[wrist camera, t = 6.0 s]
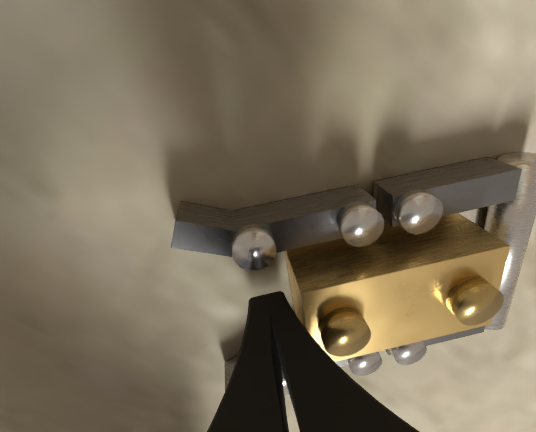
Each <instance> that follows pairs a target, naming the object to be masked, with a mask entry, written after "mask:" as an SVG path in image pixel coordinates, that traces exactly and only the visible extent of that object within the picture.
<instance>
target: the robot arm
mask: <svg viewBox="0 0 536 432" xmlns="http://www.w3.org/2000/svg"><path fill="white" fill-rule="evenodd" d="M281 367H282V370H281ZM282 371H283V374H284V378H285V381H286V384H287V388H288V391H289V394H290V398H291V401H292V404H293V408H294V411H295V414H296V418H297V422H298V426H299V429H300V432H419V431H418V430H416V429H415V428H413V427H412V426H410V425H409V424H408V423H406V422H405V421H404V420H402V419H401V418H399V417H398V416H397V415H395V414H394V413H393V412H392V411H390V410H389V409H388V408H386V407H385V406H384V405H382V404H381V403H380V402H379V401H377V400H376V399H375V398H374V397H373V396H372V395H370V394H369V393H368V392H367V391H366V390H364V389H363V388H362V387H361V386H360V385H359V384H357V383H356V382H355V381H354V380H353V379H352V378H351V377H350V376H349V375H348V374H347V373H345V372H344V371H343V370H342V369H341V368H340V367H339V366H338V365H337V364H336V363H335V362H334V361H333V360H332V359H331V358H330V356H329V355H328V354H327V353H326V352H325V351H324V350H323V349H322V348H321V346H320V345H319V344H318V343H317V342H316V341H315V340H314V338H313V337H312V336H311V335H310V333H309V332H308V331H307V329H306V328H305V327H304V325H303V324H302V323H301V321H300V320H299V319H298V317H297V316H296V314H295V313H294V311H293V310H292V308H291V306H290V305H289V303H288V301H287V299H286V297H285V295H284V293H283V292H281V291H279V292H275V293H270V294H266V295H261V296H257V297H253V298H251V299H250V300H249V307H248V316H247V321H246V327H245V331H244V335H243V339H242V343H241V347H240V351H239V354H238V357H237V360H236V363H235V367H234V370H233V372H232V375H231V378H230V381H229V383H228V386H227V388H226V391H225V394H224V396H223V398H222V401H221V403H220V405H219V407H218V410H217V412H216V414H215V416H214V418H213V421H212V423H211V425H210V427H209V429H208V431H207V432H289V429H288V422H287V415H286V406H285V397H284V388H283V379H282Z"/></svg>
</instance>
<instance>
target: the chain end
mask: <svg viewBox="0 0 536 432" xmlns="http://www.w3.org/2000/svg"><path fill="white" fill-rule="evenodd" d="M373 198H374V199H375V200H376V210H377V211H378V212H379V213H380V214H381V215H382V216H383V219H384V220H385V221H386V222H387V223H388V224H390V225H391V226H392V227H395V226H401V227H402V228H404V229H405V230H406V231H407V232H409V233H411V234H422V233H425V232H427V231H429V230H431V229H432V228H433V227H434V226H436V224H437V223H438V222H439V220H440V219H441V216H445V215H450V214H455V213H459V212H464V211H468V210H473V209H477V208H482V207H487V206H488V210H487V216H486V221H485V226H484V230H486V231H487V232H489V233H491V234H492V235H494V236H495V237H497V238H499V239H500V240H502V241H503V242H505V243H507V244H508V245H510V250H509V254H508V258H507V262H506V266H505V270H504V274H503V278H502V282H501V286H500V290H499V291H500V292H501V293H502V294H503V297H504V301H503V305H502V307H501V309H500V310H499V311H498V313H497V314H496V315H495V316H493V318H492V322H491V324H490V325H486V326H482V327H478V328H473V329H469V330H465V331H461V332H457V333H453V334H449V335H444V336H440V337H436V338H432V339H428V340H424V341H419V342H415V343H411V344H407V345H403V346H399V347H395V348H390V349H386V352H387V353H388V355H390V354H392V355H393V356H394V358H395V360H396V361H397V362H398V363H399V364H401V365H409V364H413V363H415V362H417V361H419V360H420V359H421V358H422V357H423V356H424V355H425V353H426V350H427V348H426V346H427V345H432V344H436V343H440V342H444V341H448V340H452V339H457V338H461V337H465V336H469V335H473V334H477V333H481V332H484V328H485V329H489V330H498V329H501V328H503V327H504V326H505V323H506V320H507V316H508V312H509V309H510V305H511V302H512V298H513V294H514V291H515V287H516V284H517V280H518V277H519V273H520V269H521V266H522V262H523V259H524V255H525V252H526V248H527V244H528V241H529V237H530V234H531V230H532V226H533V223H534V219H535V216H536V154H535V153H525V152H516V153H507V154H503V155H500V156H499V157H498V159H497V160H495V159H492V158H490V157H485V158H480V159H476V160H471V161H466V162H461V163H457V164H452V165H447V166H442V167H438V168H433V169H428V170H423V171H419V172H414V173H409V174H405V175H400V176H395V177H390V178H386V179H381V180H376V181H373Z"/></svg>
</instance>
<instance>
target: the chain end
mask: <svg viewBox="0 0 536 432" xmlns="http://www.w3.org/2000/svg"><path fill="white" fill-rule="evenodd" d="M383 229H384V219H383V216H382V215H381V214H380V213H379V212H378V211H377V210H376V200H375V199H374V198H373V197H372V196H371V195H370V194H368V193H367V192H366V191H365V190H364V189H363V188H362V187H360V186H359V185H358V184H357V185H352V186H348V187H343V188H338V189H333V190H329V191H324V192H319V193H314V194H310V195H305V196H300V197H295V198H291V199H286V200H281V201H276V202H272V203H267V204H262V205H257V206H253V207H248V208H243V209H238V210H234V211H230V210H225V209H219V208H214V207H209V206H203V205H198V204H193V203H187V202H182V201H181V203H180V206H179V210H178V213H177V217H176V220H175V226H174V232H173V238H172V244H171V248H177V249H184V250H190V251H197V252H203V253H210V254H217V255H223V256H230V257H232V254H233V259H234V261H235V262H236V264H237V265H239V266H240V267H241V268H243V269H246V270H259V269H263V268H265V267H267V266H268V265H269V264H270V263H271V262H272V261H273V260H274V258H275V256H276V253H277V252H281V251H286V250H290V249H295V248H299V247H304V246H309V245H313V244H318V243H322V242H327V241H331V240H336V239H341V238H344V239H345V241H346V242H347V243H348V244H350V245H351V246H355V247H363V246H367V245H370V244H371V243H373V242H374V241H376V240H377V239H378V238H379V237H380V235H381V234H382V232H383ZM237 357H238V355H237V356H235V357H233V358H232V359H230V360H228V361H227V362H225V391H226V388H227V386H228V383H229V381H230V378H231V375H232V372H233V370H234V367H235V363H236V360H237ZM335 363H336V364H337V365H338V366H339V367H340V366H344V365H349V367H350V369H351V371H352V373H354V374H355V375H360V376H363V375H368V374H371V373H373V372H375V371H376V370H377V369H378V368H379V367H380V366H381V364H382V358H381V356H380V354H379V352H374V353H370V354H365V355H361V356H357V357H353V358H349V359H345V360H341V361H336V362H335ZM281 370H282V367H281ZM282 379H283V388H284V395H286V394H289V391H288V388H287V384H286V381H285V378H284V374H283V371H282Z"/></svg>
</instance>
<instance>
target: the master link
mask: <svg viewBox="0 0 536 432" xmlns="http://www.w3.org/2000/svg"><path fill="white" fill-rule="evenodd" d="M509 250H510V245H508V244H507V243H505V242H503V241H502V240H500V239H499V238H497V237H495V236H494V235H492V234H491V233H489V232H487V231H486V230H484V229H483V228H481V227H479V226H478V225H476V224H475V223H473V222H471V221H470V220H468V219H467V218H465V217H463V216H462V215H460V214H459V213H455V214H450V215H445V216H441V219H440V220H439V222H438V223H437V224H436V226H434V227H433V228H432V229H431V230H429V231H427V232H425V233H422V234H411V233H409V232H407V231H406V230H405V229H404V228H402V227H401V226H395V227H392V226H391V225H390V224H388V223H387V222H386V221H384V229H383V232H382V234H381V235H380V237H379V238H378V239H377V240H376V241H374V242H373V243H371V244H370V245H367V246H363V247H355V246H351V245H350V244H348V243H347V242H346V241H345V239H344V238H341V239H336V240H331V241H327V242H322V243H318V244H313V245H309V246H304V247H299V248H295V249H290V250H286V251H285V256H286V262H287V268H288V274H289V280H290V285H291V291H292V297H293V303H294V309H295V313H296V316H297V317H298V319H299V320H300V321H301V323H302V324H303V325H304V327H305V328H306V329H307V331H308V332H309V333H310V335H311V336H312V337H313V338H314V340H315V341H316V342H317V343H318V344H319V345H320V346H321V348H322V349H323V350H324V351H325V352H326V353H327V354H328V355H329V356H330V358H331V359H332V360H333V361H334V362H336V361H341V360H345V359H349V358H353V357H357V356H361V355H365V354H370V353H374V352H378V351H382V350H386V349H390V348H395V347H399V346H403V345H407V344H411V343H415V342H419V341H424V340H428V339H432V338H436V337H440V336H444V335H449V334H453V333H457V332H461V331H465V330H469V329H473V328H478V327H482V326H486V325H490V324H491V322H492V318H493V316H495V315H496V314H497V313H498V311H499V310H500V309H501V307H502V305H503V301H504V297H503V294H502V293H501V292H500V291H499V290H500V286H501V282H502V278H503V274H504V270H505V266H506V262H507V258H508V254H509Z"/></svg>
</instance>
